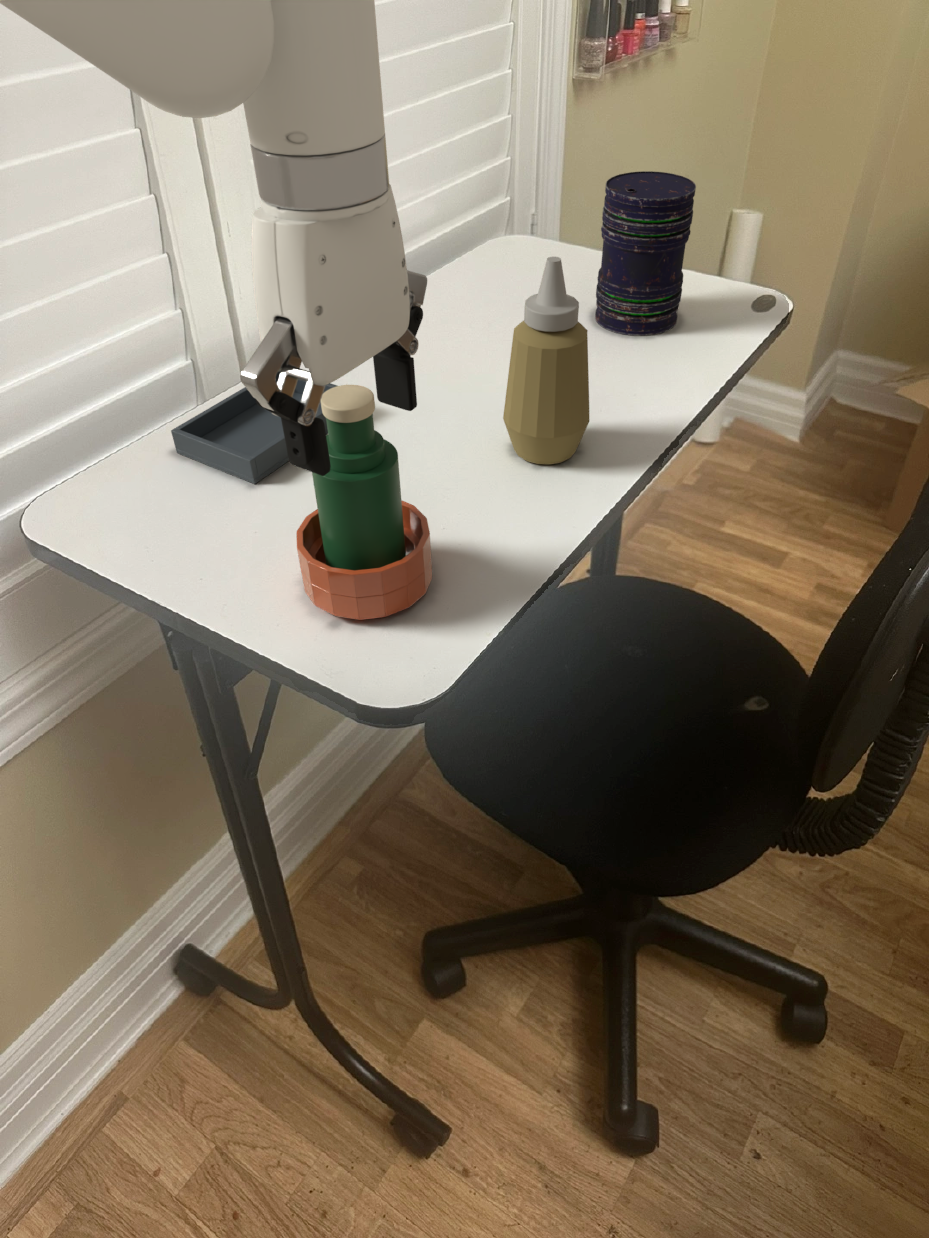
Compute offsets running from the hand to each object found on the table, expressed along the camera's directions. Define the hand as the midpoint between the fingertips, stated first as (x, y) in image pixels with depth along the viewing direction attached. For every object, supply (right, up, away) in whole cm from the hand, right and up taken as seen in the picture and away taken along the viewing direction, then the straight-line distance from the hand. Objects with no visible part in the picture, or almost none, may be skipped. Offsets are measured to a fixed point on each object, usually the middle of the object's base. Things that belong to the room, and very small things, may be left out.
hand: (355, 435), depth 63 cm
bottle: (0, -10, +8) cm, 13 cm away
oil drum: (+28, +23, +45) cm, 58 cm away
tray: (-12, +6, +26) cm, 29 cm away
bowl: (0, -10, +9) cm, 13 cm away
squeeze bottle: (+15, +3, +23) cm, 28 cm away
